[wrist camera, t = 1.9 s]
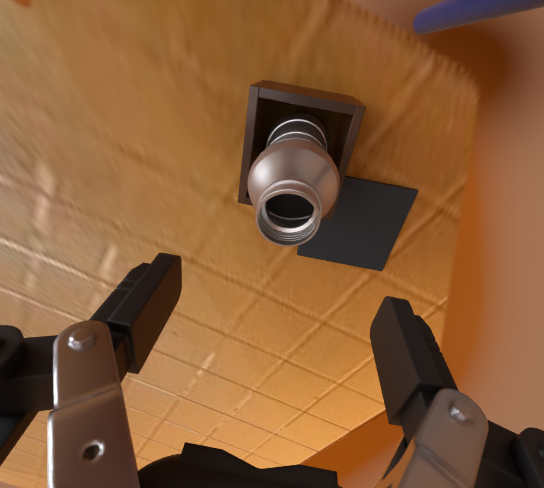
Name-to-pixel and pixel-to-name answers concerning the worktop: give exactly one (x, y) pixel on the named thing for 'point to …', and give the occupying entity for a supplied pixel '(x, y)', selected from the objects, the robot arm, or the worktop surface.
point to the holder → (304, 97)
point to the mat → (361, 224)
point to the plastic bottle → (293, 180)
